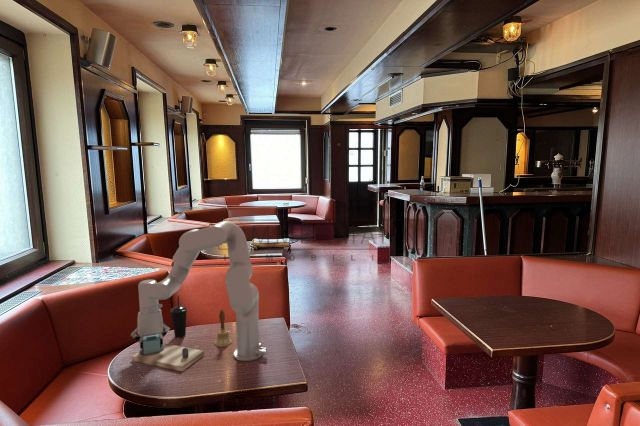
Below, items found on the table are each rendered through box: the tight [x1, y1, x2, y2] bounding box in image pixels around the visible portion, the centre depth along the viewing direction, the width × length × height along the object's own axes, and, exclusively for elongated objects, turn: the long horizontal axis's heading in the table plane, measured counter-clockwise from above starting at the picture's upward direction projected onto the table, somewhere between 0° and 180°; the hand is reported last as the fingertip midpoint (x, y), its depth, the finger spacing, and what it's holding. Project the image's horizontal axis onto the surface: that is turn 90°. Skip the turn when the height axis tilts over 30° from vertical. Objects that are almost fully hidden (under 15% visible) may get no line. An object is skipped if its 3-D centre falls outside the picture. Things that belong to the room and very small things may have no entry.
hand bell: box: [213, 309, 233, 348], centre depth 174 cm, size 8×8×16 cm
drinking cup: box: [170, 295, 188, 339], centre depth 181 cm, size 8×8×20 cm
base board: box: [131, 342, 205, 372], centre depth 161 cm, size 27×14×6 cm, turn 70°
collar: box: [143, 334, 161, 354], centre depth 163 cm, size 7×7×5 cm
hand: (151, 347), depth 164 cm, fingers closed on collar, 6 cm apart
